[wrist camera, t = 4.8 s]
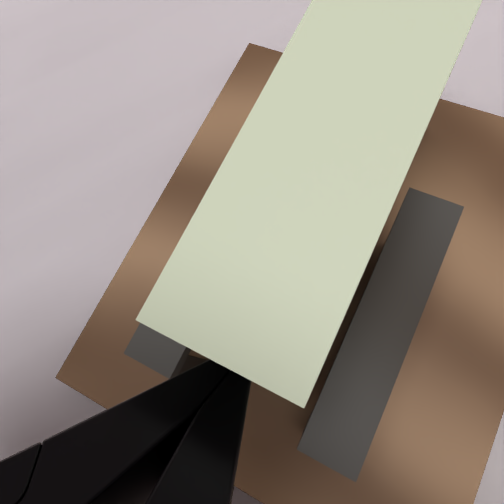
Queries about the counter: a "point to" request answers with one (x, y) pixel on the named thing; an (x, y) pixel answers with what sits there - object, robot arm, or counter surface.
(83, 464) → the robot arm
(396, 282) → the wooden channel stand
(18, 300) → the counter surface
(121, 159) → the counter surface
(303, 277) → the bar
